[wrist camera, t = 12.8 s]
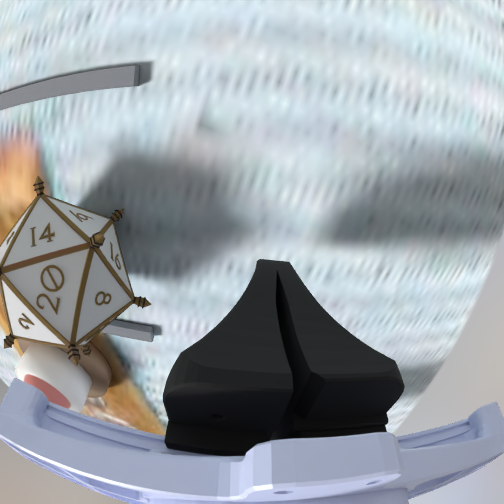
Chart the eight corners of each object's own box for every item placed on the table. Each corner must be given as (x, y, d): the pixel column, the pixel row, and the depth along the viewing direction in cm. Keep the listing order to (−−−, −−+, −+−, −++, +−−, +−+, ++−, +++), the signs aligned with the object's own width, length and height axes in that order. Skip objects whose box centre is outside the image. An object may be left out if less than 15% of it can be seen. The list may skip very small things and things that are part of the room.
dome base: (122, 395, 24) (118, 407, 23) (46, 371, 24) (41, 381, 23) (95, 328, 19) (88, 342, 18) (10, 305, 19) (2, 316, 18)
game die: (102, 188, 18) (-2, 125, 8) (198, 257, 17) (104, 221, 7) (45, 295, 17) (-65, 293, 7) (126, 374, 16) (17, 433, 6)
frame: (154, 336, 19) (152, 342, 19) (9, 301, 19) (5, 305, 18) (139, 66, 11) (135, 65, 10) (-34, 108, 10) (-40, 110, 9)
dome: (100, 396, 22) (86, 439, 18) (45, 378, 22) (28, 415, 18) (77, 352, 19) (53, 402, 14) (18, 332, 18) (-7, 373, 14)
